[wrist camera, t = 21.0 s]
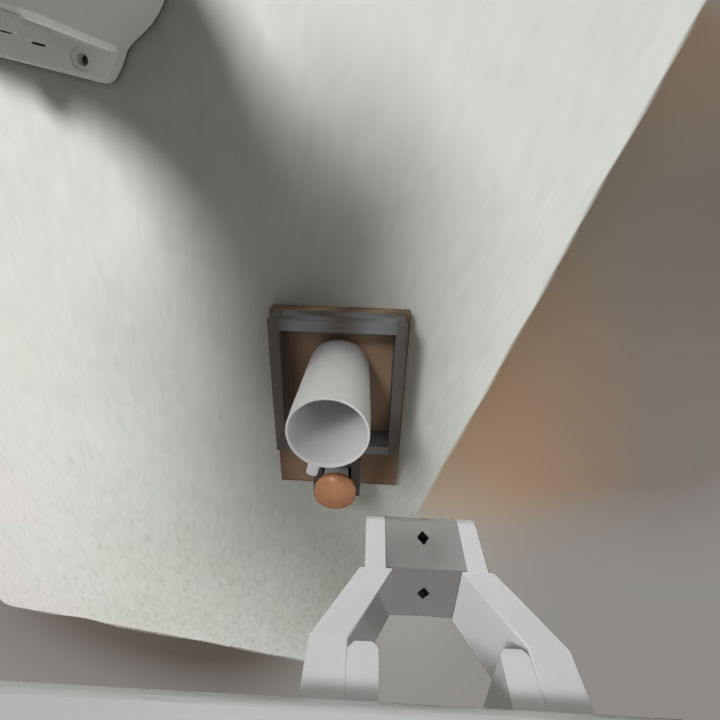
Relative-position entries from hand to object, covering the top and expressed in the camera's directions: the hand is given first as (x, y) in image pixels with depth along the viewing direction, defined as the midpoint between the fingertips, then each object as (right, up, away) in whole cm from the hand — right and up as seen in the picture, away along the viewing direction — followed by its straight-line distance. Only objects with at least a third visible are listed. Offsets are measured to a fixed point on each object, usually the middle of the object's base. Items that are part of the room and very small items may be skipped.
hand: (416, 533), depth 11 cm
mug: (-4, +3, +32) cm, 32 cm away
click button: (-4, -7, +36) cm, 37 cm away
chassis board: (-4, 0, +35) cm, 35 cm away
